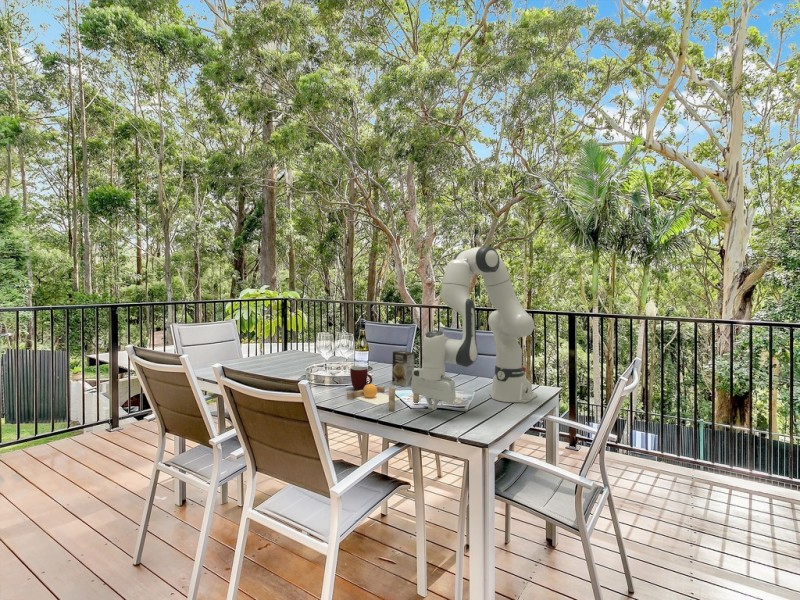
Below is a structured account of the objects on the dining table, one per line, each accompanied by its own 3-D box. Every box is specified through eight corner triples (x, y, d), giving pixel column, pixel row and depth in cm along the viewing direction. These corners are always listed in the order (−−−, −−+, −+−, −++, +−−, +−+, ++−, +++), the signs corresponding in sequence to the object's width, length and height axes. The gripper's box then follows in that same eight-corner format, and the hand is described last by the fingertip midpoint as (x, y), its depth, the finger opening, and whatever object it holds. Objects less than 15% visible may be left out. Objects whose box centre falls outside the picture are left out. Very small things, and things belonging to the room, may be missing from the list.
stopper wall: (381, 391, 212) (381, 385, 212) (384, 392, 211) (384, 386, 210) (346, 398, 198) (347, 392, 198) (349, 399, 197) (349, 393, 197)
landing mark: (379, 393, 208) (379, 392, 208) (401, 399, 198) (401, 399, 198) (355, 398, 199) (355, 397, 199) (376, 405, 189) (376, 405, 189)
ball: (378, 398, 202) (369, 391, 205) (381, 386, 199) (372, 379, 203) (368, 402, 197) (359, 395, 201) (370, 390, 195) (361, 383, 199)
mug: (374, 388, 217) (374, 367, 216) (370, 392, 209) (370, 370, 208) (352, 386, 219) (353, 366, 218) (347, 391, 211) (348, 369, 210)
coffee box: (391, 384, 226) (392, 351, 225) (399, 381, 231) (400, 350, 230) (405, 387, 220) (406, 353, 219) (414, 385, 225) (414, 352, 224)
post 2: (416, 402, 194) (416, 381, 193) (420, 404, 192) (420, 382, 191) (412, 403, 192) (412, 382, 191) (416, 405, 190) (416, 383, 190)
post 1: (391, 409, 184) (392, 386, 183) (396, 410, 182) (396, 388, 182) (387, 410, 182) (387, 387, 182) (391, 411, 181) (391, 389, 180)
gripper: (459, 377, 172) (458, 413, 173) (420, 368, 187) (419, 402, 187) (448, 379, 168) (447, 417, 168) (409, 370, 182) (408, 404, 183)
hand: (432, 409), depth 178 cm, fingers closed
